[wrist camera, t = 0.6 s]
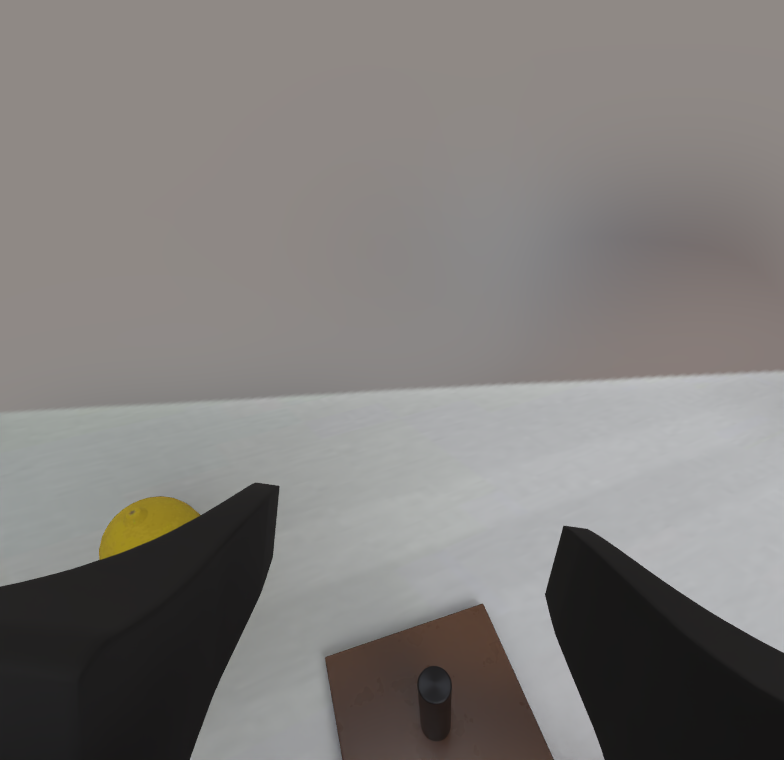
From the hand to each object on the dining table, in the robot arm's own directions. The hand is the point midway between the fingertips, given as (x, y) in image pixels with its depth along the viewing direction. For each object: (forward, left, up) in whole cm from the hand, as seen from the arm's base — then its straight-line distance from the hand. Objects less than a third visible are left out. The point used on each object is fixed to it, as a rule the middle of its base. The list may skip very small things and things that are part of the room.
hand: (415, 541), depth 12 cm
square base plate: (0, -1, -17) cm, 17 cm away
